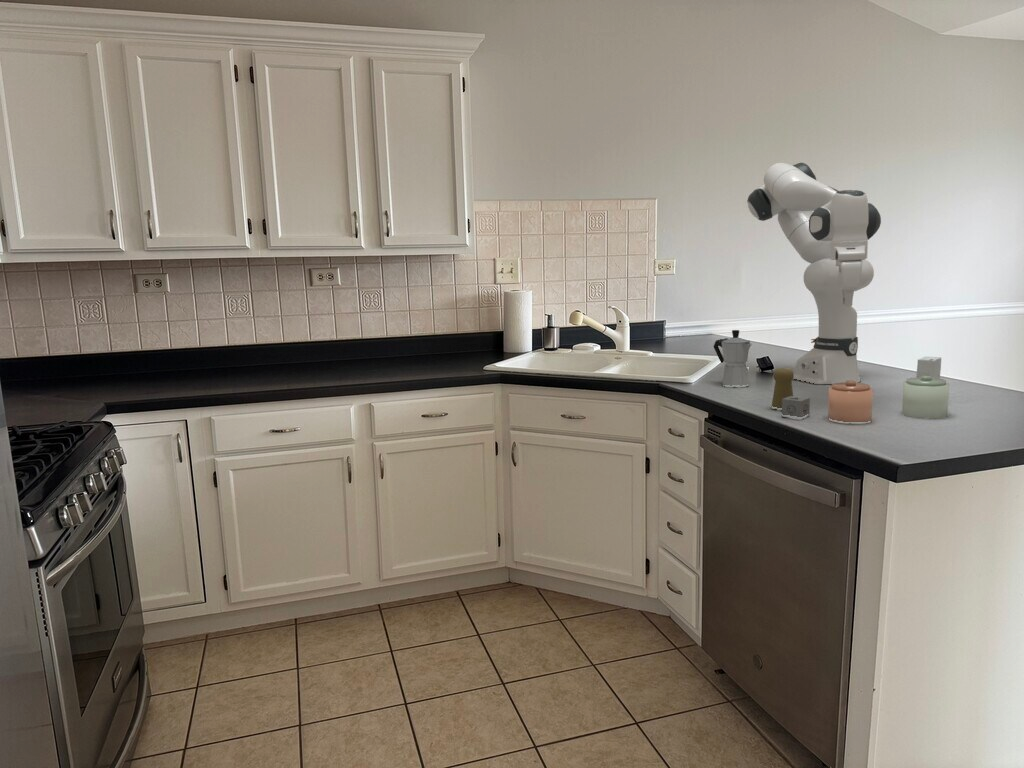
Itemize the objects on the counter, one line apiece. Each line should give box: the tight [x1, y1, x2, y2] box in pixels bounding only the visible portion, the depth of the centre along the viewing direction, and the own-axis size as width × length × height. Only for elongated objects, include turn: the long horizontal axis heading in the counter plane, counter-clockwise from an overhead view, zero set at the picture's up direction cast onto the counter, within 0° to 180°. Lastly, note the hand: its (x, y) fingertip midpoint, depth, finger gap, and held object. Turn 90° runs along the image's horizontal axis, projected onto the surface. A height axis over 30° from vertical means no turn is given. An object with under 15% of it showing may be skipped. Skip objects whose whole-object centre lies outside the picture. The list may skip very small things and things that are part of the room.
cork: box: [771, 368, 795, 408], centre depth 196 cm, size 6×6×11 cm
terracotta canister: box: [827, 381, 874, 422], centre depth 180 cm, size 10×10×10 cm
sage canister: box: [901, 376, 950, 420], centre depth 182 cm, size 10×10×10 cm
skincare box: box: [915, 356, 942, 379], centre depth 195 cm, size 6×4×12 cm
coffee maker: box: [713, 329, 753, 386], centre depth 232 cm, size 15×9×18 cm, turn 34°
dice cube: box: [781, 395, 811, 417], centre depth 186 cm, size 5×5×5 cm
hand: (847, 305), depth 193 cm, fingers open, 5 cm apart
